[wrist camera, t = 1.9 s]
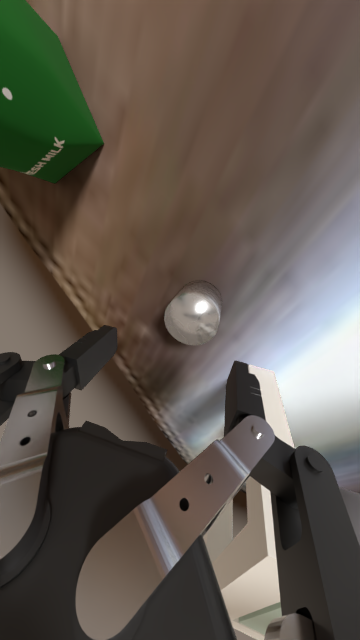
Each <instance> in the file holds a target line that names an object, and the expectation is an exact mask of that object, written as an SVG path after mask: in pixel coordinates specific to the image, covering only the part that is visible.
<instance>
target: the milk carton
mask: <svg viewBox="0 0 360 640" xmlns="http://www.w3.org/2000/svg"><path fill="white" fill-rule="evenodd" d="M103 144H104V142H103V140H102V138H101V136H100V133H99V131H98V129H97V126H96V124H95V122H94V119H93V117H92V115H91V112H90V110H89V108H88V105H87V103H86V101H85V98H84V96H83V94H82V92H81V89H80V87H79V85H78V82H77V80H76V78H75V75H74V73H73V71H72V68H71V66H70V64H69V61H68V59H67V57H66V54H65V52H64V50H63V47H62V45H61V43H60V41H59V38H58V36H57V35H56V34H55V33H54V32H53V31H52V30H51V29H50V27H49V26H48V25H47V24H46V23H45V22H44V21H43V20H42V19H41V17H40V16H39V15H38V14H37V13H36V12H35V11H34V10H33V8H32V7H31V6H30V5H29V4H28V3H27V2H26V1H25V0H0V167H3V168H7V169H11V170H15V171H18V172H22V173H25V174H28V175H31V176H34V177H37V178H40V179H43V180H46V181H49V182H52V183H56V182H57V181H59V180H60V179H61V178H62V177H63V176H65V175H66V174H67V173H68V172H70V171H71V170H72V169H73V168H75V167H76V166H77V165H78V164H79V163H81V162H82V161H83V160H84V159H86V158H87V157H88V156H89V155H90V154H92V153H93V152H94V151H95V150H97V149H98V148H99V147H100V146H102V145H103Z"/></svg>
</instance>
